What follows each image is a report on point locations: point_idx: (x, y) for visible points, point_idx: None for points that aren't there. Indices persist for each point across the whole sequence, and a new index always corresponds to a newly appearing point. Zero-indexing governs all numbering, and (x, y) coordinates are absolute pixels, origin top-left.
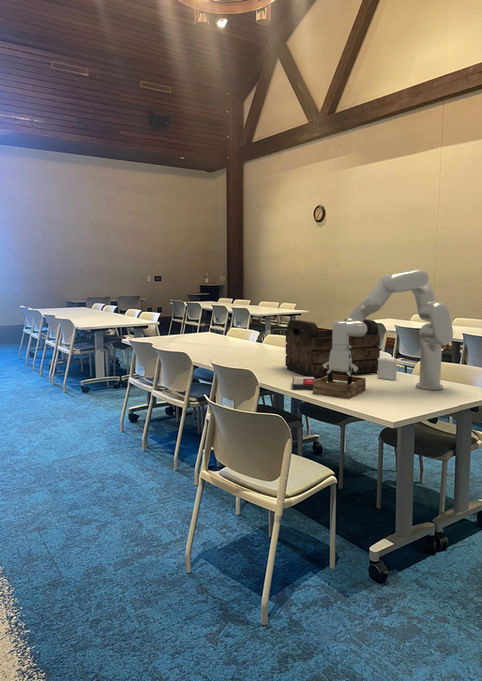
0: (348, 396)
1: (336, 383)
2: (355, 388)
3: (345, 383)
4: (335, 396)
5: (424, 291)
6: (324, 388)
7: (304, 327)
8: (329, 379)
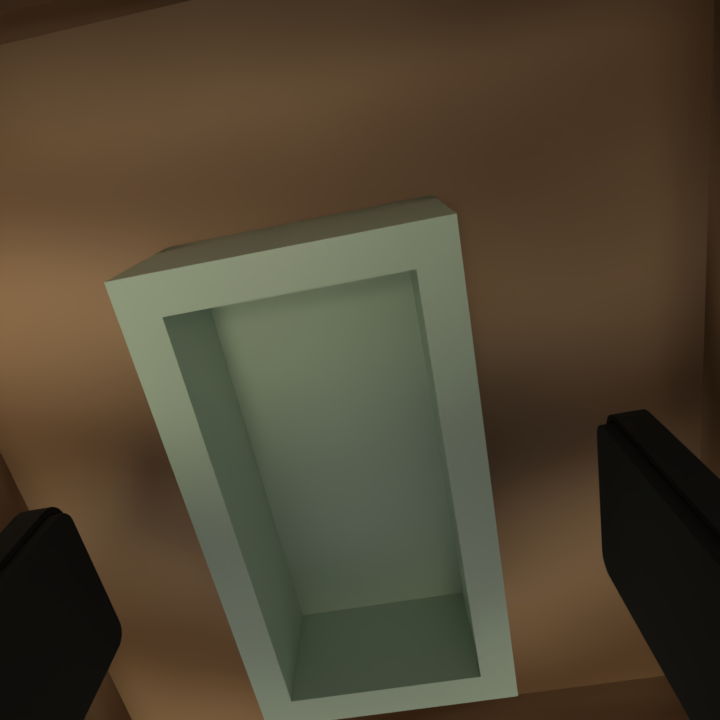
0: None
1: (227, 490)
2: (551, 52)
3: (444, 408)
4: None
5: None
6: None
7: None
8: (88, 703)
